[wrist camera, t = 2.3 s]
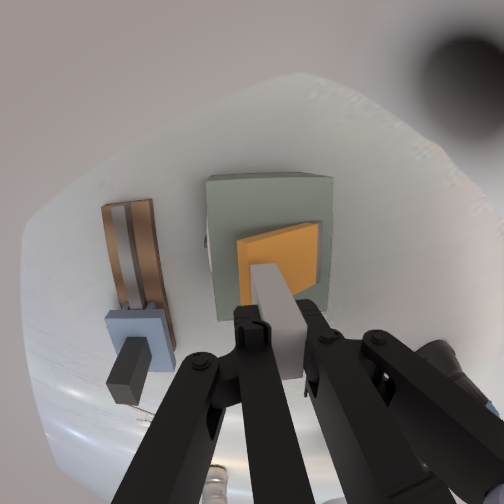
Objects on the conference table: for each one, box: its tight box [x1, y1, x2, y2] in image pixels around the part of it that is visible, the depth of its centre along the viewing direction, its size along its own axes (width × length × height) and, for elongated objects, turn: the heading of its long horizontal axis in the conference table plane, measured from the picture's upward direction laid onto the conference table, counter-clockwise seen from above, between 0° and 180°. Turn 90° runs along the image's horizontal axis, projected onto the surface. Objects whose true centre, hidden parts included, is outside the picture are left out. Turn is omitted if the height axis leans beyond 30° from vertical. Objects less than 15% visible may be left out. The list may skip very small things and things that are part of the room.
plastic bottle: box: [202, 467, 228, 504], centre depth 39 cm, size 6×7×20 cm
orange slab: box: [237, 221, 323, 306], centre depth 20 cm, size 5×8×1 cm
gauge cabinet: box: [204, 172, 333, 321], centre depth 27 cm, size 12×11×10 cm
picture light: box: [123, 404, 155, 427], centre depth 40 cm, size 14×4×2 cm, turn 63°
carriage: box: [105, 302, 176, 406], centre depth 27 cm, size 8×7×12 cm
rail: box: [101, 199, 176, 352], centre depth 31 cm, size 20×6×4 cm, turn 2°
